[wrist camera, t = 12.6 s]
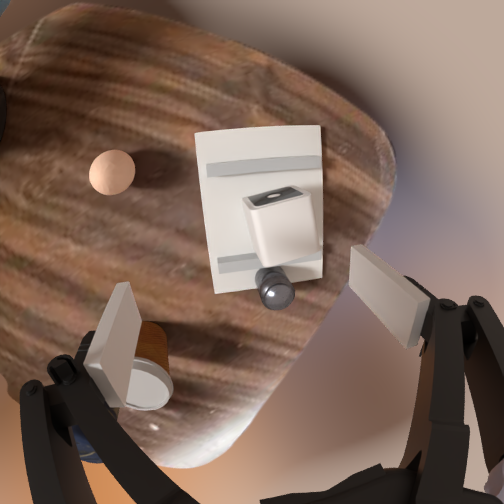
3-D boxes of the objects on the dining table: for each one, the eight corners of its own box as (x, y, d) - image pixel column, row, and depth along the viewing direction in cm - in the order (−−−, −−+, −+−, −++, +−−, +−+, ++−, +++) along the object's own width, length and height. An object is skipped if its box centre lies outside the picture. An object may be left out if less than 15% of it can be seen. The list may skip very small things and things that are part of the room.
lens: (253, 266, 40) (260, 285, 35) (284, 261, 41) (295, 279, 36) (256, 294, 42) (263, 315, 37) (285, 288, 42) (296, 309, 37)
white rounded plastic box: (283, 179, 36) (313, 194, 27) (293, 229, 39) (323, 258, 30) (235, 192, 36) (250, 210, 27) (248, 242, 38) (266, 276, 29)
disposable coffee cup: (175, 313, 42) (170, 368, 31) (177, 359, 46) (175, 414, 35) (116, 310, 40) (95, 361, 29) (124, 355, 44) (110, 408, 33)
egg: (96, 167, 33) (69, 175, 25) (124, 140, 32) (104, 140, 25) (119, 196, 35) (98, 212, 27) (148, 171, 34) (133, 179, 27)
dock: (194, 133, 33) (194, 132, 31) (317, 125, 35) (326, 124, 32) (214, 290, 42) (215, 301, 39) (319, 274, 44) (327, 283, 41)
